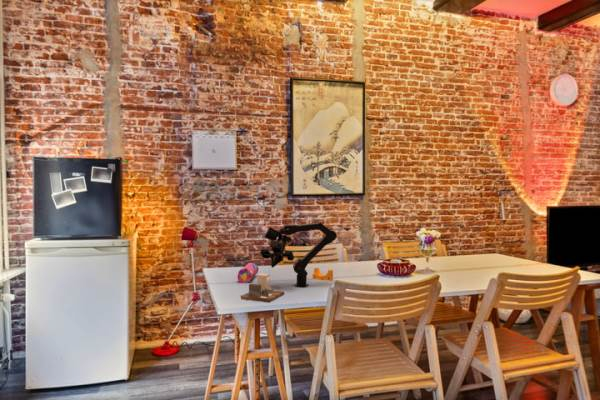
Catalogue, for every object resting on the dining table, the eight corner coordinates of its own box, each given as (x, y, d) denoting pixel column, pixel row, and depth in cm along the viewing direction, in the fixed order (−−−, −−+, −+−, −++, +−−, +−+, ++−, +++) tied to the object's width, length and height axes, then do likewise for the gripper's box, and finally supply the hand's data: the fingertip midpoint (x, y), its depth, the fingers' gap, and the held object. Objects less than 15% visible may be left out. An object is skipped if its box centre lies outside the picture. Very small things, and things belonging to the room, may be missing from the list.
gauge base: (257, 291, 234) (257, 277, 234) (284, 294, 228) (284, 280, 228) (240, 298, 217) (240, 284, 217) (269, 302, 211) (269, 287, 211)
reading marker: (263, 294, 218) (263, 285, 218) (268, 295, 217) (268, 286, 217) (262, 295, 217) (262, 286, 217) (267, 295, 216) (267, 287, 216)
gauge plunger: (261, 290, 228) (261, 273, 228) (275, 291, 225) (276, 274, 225) (257, 292, 224) (257, 274, 224) (272, 293, 221) (272, 276, 221)
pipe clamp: (312, 278, 268) (312, 268, 268) (316, 277, 271) (316, 267, 271) (329, 281, 261) (329, 270, 261) (332, 280, 265) (332, 269, 264)
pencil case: (252, 283, 252) (252, 268, 251) (236, 283, 252) (236, 268, 252) (258, 276, 273) (259, 262, 273) (244, 275, 274) (244, 261, 274)
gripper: (261, 234, 242) (252, 256, 232) (292, 236, 235) (283, 259, 225) (267, 246, 250) (258, 268, 240) (297, 248, 243) (289, 271, 233)
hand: (272, 267), depth 234 cm, fingers closed
